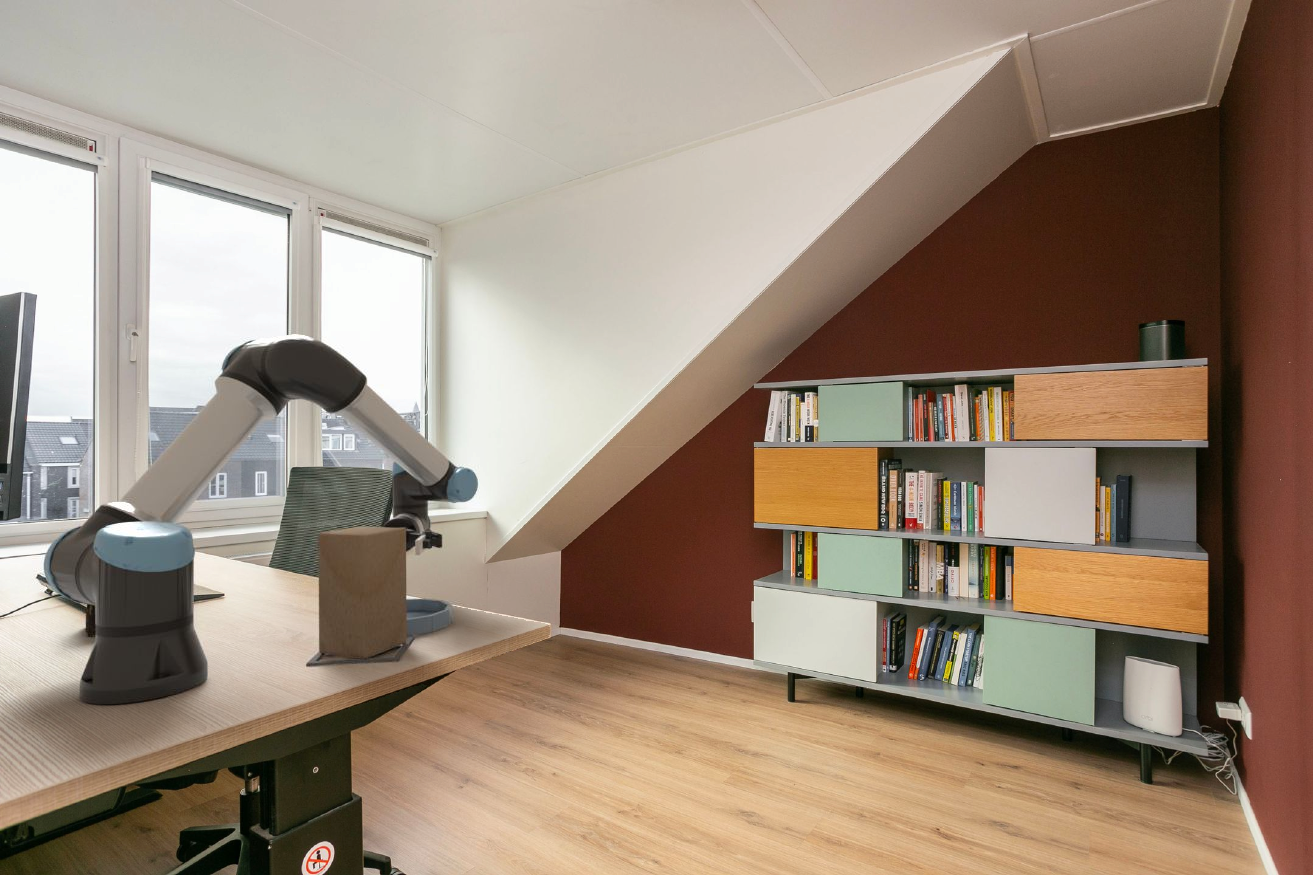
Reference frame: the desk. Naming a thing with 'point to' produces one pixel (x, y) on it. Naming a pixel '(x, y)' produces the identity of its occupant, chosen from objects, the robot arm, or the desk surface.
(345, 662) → the dark grey square frame
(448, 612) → the dish
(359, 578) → the wooden block
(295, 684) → the desk surface
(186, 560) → the robot arm
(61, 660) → the desk surface
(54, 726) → the desk surface
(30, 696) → the desk surface
